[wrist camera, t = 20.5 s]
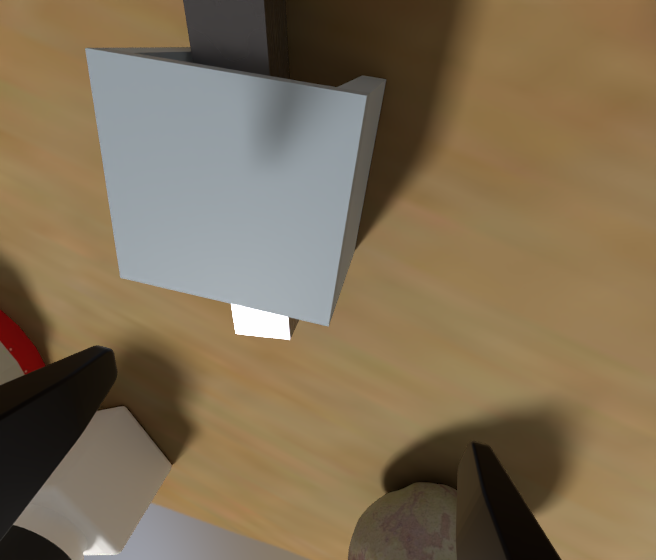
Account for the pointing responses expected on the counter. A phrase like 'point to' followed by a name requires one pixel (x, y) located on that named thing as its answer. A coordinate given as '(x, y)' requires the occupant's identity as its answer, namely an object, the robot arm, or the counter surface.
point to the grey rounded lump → (408, 525)
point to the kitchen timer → (16, 351)
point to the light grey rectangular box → (91, 494)
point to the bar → (254, 57)
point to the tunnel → (233, 177)
